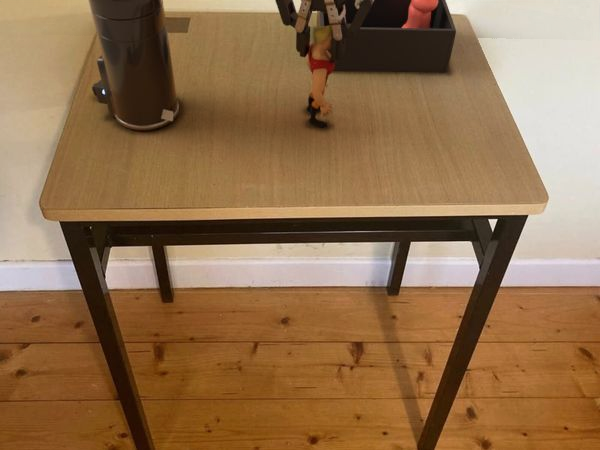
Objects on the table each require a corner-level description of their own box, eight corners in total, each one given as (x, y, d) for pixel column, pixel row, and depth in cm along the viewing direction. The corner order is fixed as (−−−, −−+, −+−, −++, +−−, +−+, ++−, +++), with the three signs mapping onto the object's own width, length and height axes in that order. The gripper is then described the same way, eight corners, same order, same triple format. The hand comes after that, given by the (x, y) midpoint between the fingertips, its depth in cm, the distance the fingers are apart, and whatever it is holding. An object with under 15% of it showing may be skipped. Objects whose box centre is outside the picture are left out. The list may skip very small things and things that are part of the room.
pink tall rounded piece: (427, 57, 104) (445, -31, 93) (397, 53, 105) (411, -35, 94) (429, 42, 108) (446, -45, 97) (400, 38, 108) (413, -49, 97)
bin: (318, 70, 102) (320, 28, 96) (316, 29, 111) (318, -12, 105) (447, 72, 102) (456, 30, 97) (434, 31, 111) (442, -9, 106)
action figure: (332, 136, 90) (344, 43, 79) (307, 137, 90) (316, 43, 79) (324, 98, 96) (334, 7, 86) (301, 98, 96) (308, 7, 85)
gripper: (392, -74, 74) (376, 53, 87) (281, -92, 77) (280, 34, 90) (376, -50, 69) (361, 82, 82) (258, -70, 72) (261, 60, 85)
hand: (319, 56), depth 86 cm, fingers closed on action figure, 3 cm apart
